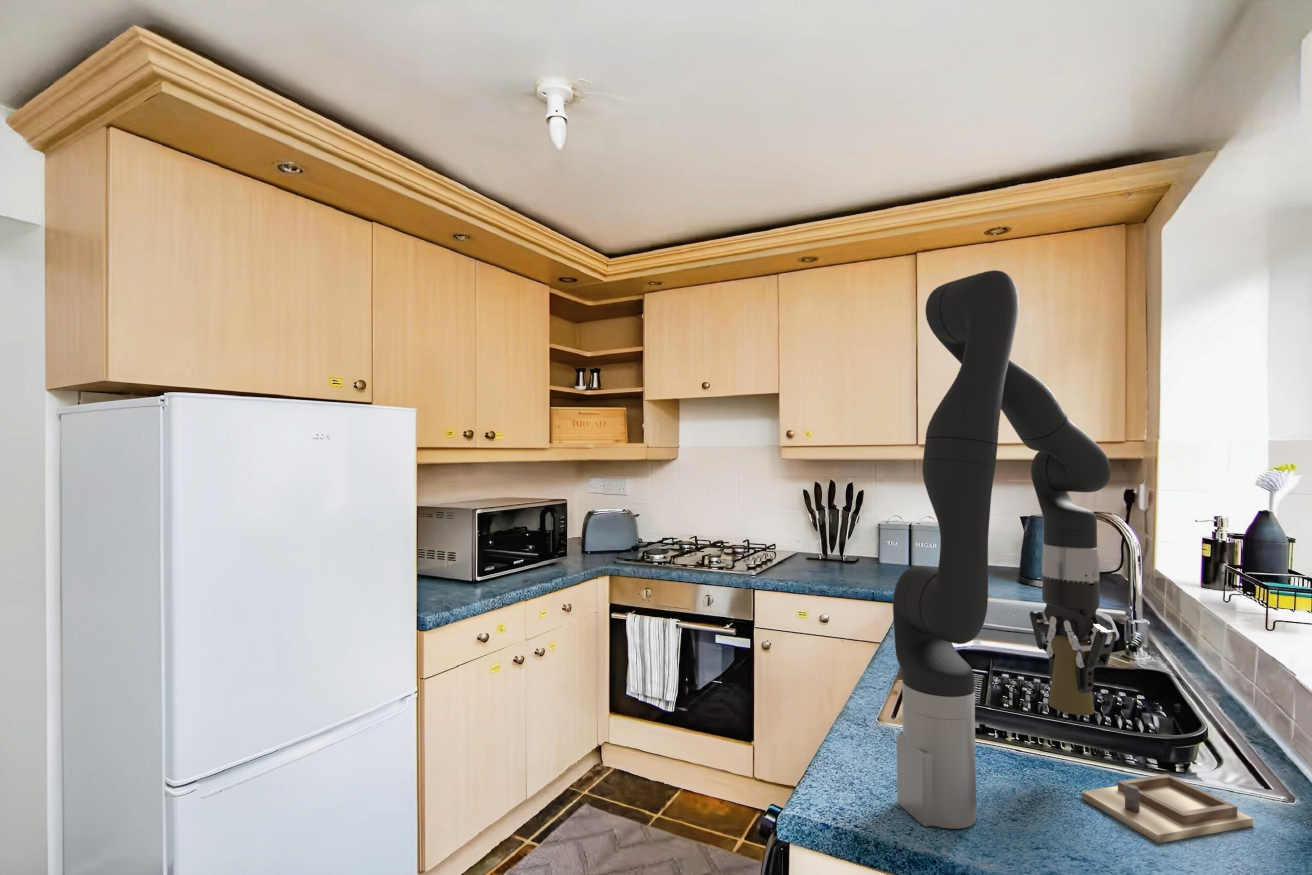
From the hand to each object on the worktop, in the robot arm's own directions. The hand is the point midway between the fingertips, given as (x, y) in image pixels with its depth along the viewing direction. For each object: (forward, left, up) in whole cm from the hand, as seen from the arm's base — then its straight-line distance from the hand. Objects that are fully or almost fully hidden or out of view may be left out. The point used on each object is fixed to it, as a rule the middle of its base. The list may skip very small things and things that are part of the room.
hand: (1070, 685), depth 100 cm
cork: (0, 0, -4) cm, 4 cm away
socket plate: (+3, -11, -13) cm, 18 cm away
